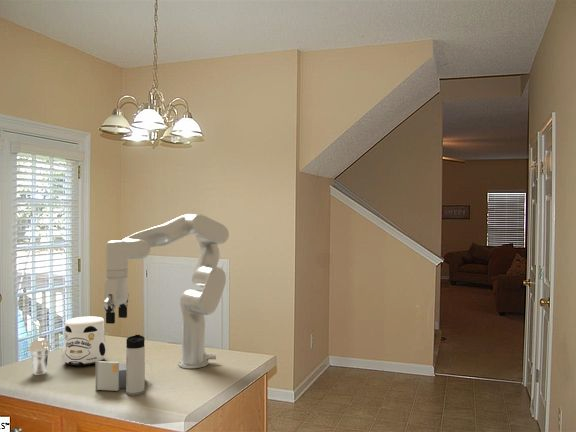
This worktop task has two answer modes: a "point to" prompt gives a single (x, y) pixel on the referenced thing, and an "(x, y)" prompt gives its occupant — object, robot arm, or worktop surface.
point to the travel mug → (135, 365)
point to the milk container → (84, 341)
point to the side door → (107, 375)
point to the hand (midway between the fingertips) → (116, 320)
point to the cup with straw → (39, 353)
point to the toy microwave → (122, 375)
